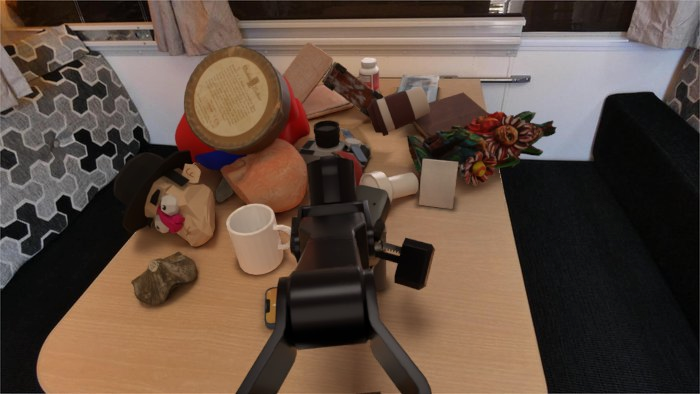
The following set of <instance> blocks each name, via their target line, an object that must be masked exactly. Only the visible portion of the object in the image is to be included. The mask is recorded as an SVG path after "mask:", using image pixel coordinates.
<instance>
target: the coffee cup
mask: <svg viewBox="0 0 700 394" xmlns="http://www.w3.org/2000/svg"><path fill="white" fill-rule="evenodd" d="M367 111H368V114H369V117H368V118H369V119H370V122H371V125H372V128H373V130H374V132H375V133H376V134H377V133H378V134H382V136H383V137H385V136H388V135H389V134H390V133H389V132H392V131H394V130H399V129H400V128H403V127H405V126H407V125H409V124H412V123H411V122H414V121H415V120H416V119H418V118H420V117H422V116H425V115H427V114H429V113H430V107H429V103H428V100H427V97H426V94H425V92H424V90H423V88H422V87H421V86H420V87H416V88H413V89H410V90H407V91H405V90H404V91H401V92H398V93H397V92H395V93H392V94H389V95H385V96H384V97H383V98H382V99H379V100H376V98H375V99H372V100H371V105H370V106H369V107H368V108H367Z"/></svg>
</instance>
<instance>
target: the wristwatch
mask: <svg viewBox="0 0 700 394" xmlns="http://www.w3.org/2000/svg"><path fill="white" fill-rule="evenodd" d="M340 133H341V134H342V136H343V137H344V140H342V141H343V143H344V144H345V145H347V146H348V147H351V149H352V151H353V152H354V154H355V156H356V157H357V159H358V161H360V162H367V163H368V161H367V159H366V157H365V156H364V154H363V152H362V151H361V149H360V145H361V143H362V141H361V140H360V139H358V138H355V137H354V135H353V134H352V132H351V131H350V129H349V128H340Z"/></svg>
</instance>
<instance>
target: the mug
mask: <svg viewBox="0 0 700 394" xmlns="http://www.w3.org/2000/svg"><path fill="white" fill-rule="evenodd" d="M225 225H226V229H227V232H228V234H229V238H230V241H231V244H232V247H233V250H234V253H235V256H236V258H237V261H238V265H239V267H240V268H241V270H242V271H243V272H245V273H247V274H249V275H253V276H254V275H255V276H259V275H264V274H268V273H271V272H272V271H274V270H275V269H277V268H278V267H279V266H280V265H281V263H282V261H283V259H284V251H286V250H290V240H288V242H285V243H282V240H281V236H280V232H279V231H281V232H283V233H286V234H287V235H288V236H289V237H290V235H291V226H287V225H285V224H278V223H277V219H276V214H275V212H273V210H272V209H271V208H270V207H269V206H266V205H263V204H249V205H247V204H246V205H242V206H240V207H238V208H236V209H235V210H233V212H231V213H230V215H229V216H228V217H227V218H226V222H225Z"/></svg>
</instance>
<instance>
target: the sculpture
mask: <svg viewBox="0 0 700 394" xmlns="http://www.w3.org/2000/svg"><path fill="white" fill-rule="evenodd" d="M536 114H537V112H535V111H530V110H524V111H521V112H520V113H517V114H515V116H514V115H513V114H510V115H507V114H506V113H505V112H504V111H497V110H496V111H495V112H493V113H489V115H488V116H480V117H478V118H477V119H473V121H471V122H470V125H466V126H465V127H464V128H463V127H460V125H458V126H452V127H451V130H449V131H442V130H441V131H436V133H434V134H432V135H430V136H429V137H427V138H426V137H425V139H424V140H423V141H422V140H421V139H420V138H419V137H417V136H416V135H406V140H407V146H408V152H409V154H410V157H411V160H412V162H413V165H414V168H415V170H416V173H417V175H418V177H419V180H420V181H421V172H422V161H423V159H432V160H443V161H453V162H458V170H457V172H458V174H459V177H460V179H463V181H464V184H465V185H469V184H471V185H472V186H479V182H480V183H481V184H486V183H487V182H488V179H489V178H490V176H495V175H496V174H495V172H494V170H497V169H502V168H506V167H507V168H508V167H510V169H512V168H514V167H515V166H516V165H518V164H520V163H521V158H520V157H521V155H527V156H534V157H540V156H542V154H543V153H544V150H543V149H540V148H537V147H535V146H534V144H536V143H538V141H539V140H541V139H542V138H544V137H545V138H546V137H547V138H548V137H550V136H553V135H555V134H556V133H557V132H556V129H557V126H553V124H554V123H555V121H554V120H553V119H552V120H548V121H545V122H543V123H535V122H532V120H533V119H535V116H536Z"/></svg>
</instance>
